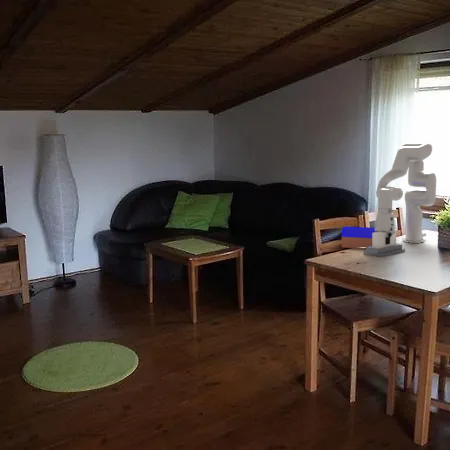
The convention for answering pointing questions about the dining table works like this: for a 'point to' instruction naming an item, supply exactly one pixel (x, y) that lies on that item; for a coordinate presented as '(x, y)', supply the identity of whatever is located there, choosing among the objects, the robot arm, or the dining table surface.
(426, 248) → the dining table surface
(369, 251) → the grey holder tray
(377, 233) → the white block
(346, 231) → the blue shipping container
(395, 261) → the dining table surface
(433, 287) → the dining table surface
